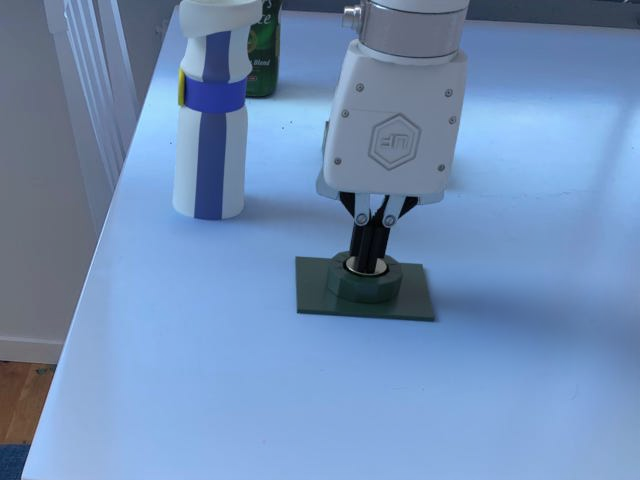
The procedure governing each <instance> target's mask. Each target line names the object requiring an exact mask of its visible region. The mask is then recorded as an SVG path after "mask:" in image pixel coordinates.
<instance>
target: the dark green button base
mask: <svg viewBox="0 0 640 480" xmlns="http://www.w3.org/2000/svg"><path fill="white" fill-rule="evenodd" d="M349 258H351V257H350V255H349V250H345V251H340V252H338V253H336V254H335V255H334V256H333V257H314V256H298V255H295V257H294V274H295V303H296V304H295V305H296V314H301V315H320V316H335V317H348V318H349V317H351V318H366V319H380V320H381V319H383V320H397V321H413V322H414V321H415V322H429V323H434V322H435V318H436V317H435V313H434V309H433V304H432V300H431V296H430V291H429V287H428V283H427V278H426V274H425V269H424V265H423V264H422V263H414V262H413V263H412V262H411V263H410V262H399V261H398V260H396V259H395V258H393V257H392V256H390V255H388V254H386V253H385V257H384V259H380V260H382V261H383V262H384V263H385V264H386V272H385V276H382V277H377V278H364V277H358V276H355V275H352V274H350V273H348V272H347V271H346V270H345V266H346V262H347V260H348V259H349ZM378 259H379V258H378Z"/></svg>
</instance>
